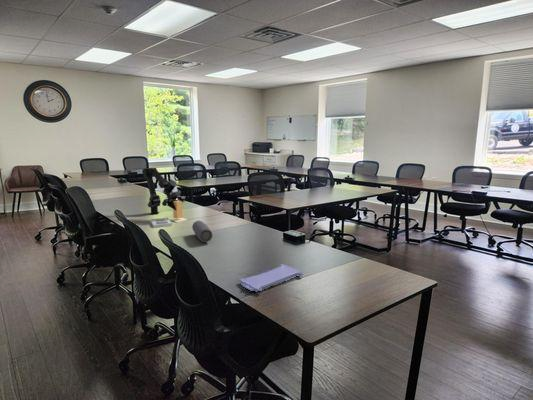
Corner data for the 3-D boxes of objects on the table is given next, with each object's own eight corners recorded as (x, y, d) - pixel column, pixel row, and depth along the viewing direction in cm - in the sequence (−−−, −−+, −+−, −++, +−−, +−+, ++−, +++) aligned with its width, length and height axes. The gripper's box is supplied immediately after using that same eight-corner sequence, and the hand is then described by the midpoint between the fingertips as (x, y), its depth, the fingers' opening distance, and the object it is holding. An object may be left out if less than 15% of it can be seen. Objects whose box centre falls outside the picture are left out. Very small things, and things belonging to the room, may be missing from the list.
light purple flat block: (234, 285, 152) (255, 297, 141) (234, 276, 151) (255, 287, 140) (282, 268, 171) (303, 278, 160) (282, 260, 171) (303, 269, 160)
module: (173, 217, 262) (172, 201, 260) (178, 216, 266) (178, 200, 263) (177, 218, 259) (176, 202, 256) (182, 217, 263) (182, 201, 260)
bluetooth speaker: (191, 234, 226) (191, 220, 224) (205, 233, 229) (204, 219, 227) (198, 244, 205) (198, 229, 203) (213, 243, 209) (213, 227, 207)
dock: (150, 221, 258) (150, 218, 257) (167, 220, 263) (167, 217, 263) (153, 227, 242) (153, 224, 241) (172, 225, 247) (171, 222, 247)
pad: (169, 220, 262) (169, 219, 262) (179, 217, 270) (179, 217, 270) (176, 222, 256) (176, 221, 256) (187, 220, 264) (187, 219, 263)
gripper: (163, 189, 253) (172, 205, 249) (183, 186, 267) (192, 201, 263) (158, 197, 260) (167, 213, 255) (178, 194, 274) (186, 209, 269)
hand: (178, 209), depth 260 cm, fingers closed on module, 5 cm apart
